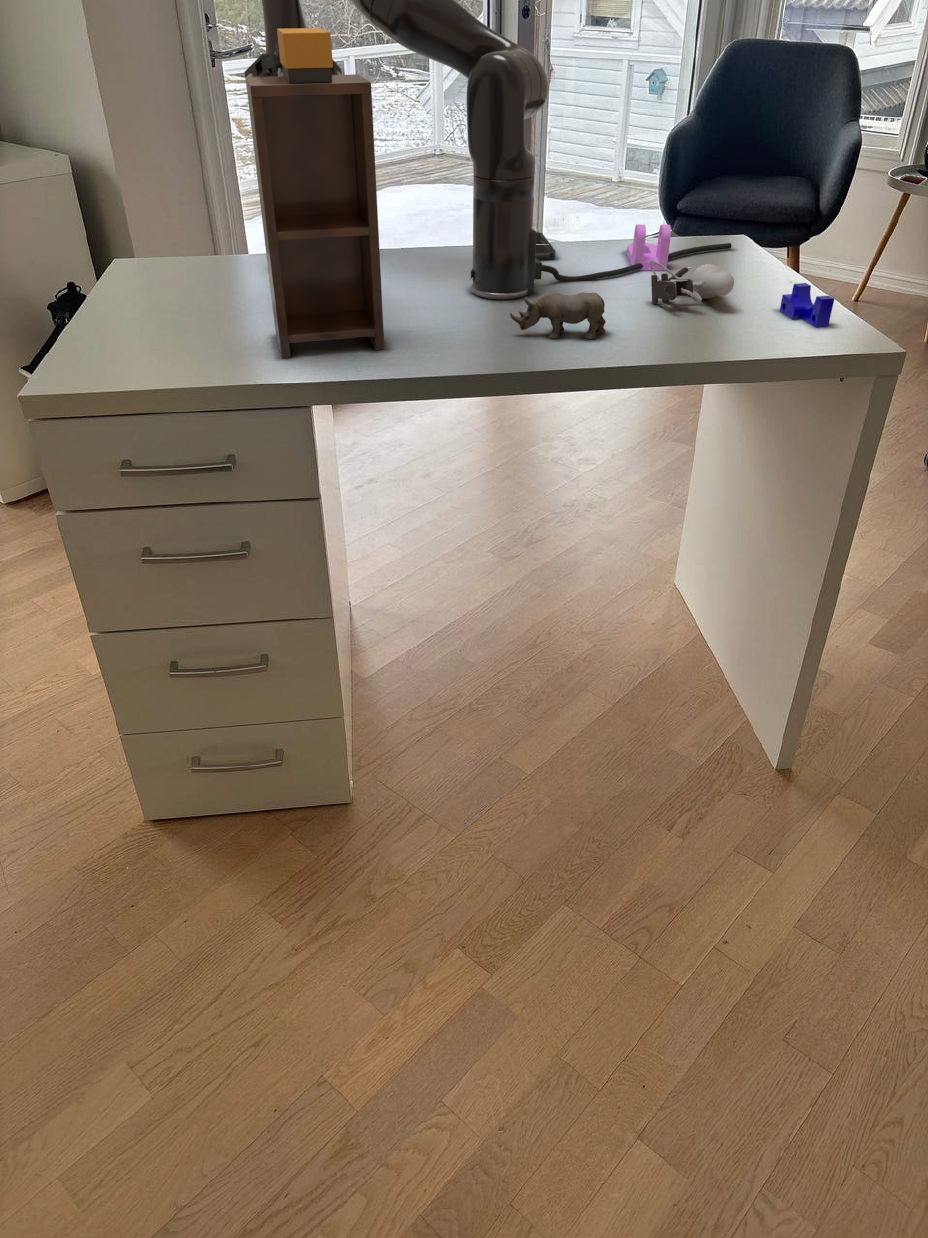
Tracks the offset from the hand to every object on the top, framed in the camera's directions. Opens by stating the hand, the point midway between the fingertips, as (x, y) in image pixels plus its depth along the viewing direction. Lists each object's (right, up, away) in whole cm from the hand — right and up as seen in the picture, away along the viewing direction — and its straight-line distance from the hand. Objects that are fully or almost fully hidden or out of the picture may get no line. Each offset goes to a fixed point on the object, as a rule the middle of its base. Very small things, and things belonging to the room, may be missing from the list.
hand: (297, 44), depth 116 cm
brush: (+1, -5, -1) cm, 5 cm away
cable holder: (+71, -27, +23) cm, 80 cm away
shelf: (+2, -33, +14) cm, 36 cm away
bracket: (+53, -8, +49) cm, 73 cm away
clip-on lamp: (+55, -21, +31) cm, 67 cm away
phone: (+33, -4, +55) cm, 64 cm away
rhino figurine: (+34, -31, +17) cm, 49 cm away
